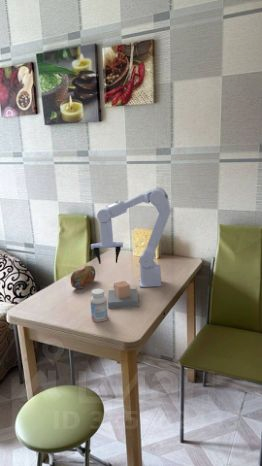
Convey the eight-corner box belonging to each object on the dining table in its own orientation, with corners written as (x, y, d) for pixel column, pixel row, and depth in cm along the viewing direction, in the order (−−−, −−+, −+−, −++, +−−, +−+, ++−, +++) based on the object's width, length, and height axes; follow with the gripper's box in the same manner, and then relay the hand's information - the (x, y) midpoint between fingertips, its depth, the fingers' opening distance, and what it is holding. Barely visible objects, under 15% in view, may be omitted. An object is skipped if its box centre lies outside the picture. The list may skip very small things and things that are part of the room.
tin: (75, 291, 158) (73, 274, 156) (70, 290, 160) (68, 273, 158) (96, 280, 171) (95, 263, 168) (91, 279, 172) (90, 262, 170)
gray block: (136, 294, 153) (136, 288, 153) (138, 307, 142) (138, 300, 141) (109, 296, 153) (108, 290, 152) (108, 309, 142) (107, 302, 141)
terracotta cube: (125, 291, 150) (124, 280, 149) (130, 296, 146) (129, 284, 144) (114, 294, 148) (113, 283, 147) (119, 298, 144) (118, 287, 142)
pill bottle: (92, 315, 136) (89, 288, 133) (107, 314, 137) (105, 287, 134) (91, 323, 131) (89, 295, 128) (108, 321, 131) (106, 293, 128)
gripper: (122, 231, 165) (123, 258, 168) (90, 233, 164) (93, 260, 168) (122, 235, 158) (124, 264, 161) (89, 237, 157) (92, 265, 161)
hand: (108, 262), depth 164 cm, fingers open, 7 cm apart
